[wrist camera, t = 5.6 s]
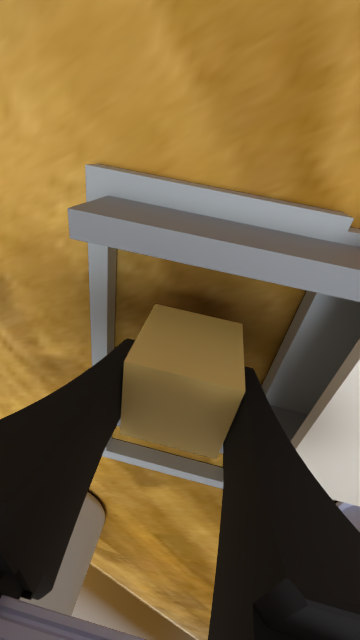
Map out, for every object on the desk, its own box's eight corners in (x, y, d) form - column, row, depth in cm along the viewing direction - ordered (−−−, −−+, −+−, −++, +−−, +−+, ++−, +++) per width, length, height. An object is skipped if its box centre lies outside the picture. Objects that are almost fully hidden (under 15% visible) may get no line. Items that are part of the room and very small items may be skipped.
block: (220, 386, 14) (216, 459, 11) (147, 367, 14) (119, 433, 11) (242, 323, 12) (245, 391, 8) (154, 303, 12) (124, 361, 9)
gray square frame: (340, 506, 23) (361, 576, 19) (100, 441, 24) (75, 495, 20) (608, 265, 11) (812, 326, 7) (97, 163, 12) (34, 167, 8)
